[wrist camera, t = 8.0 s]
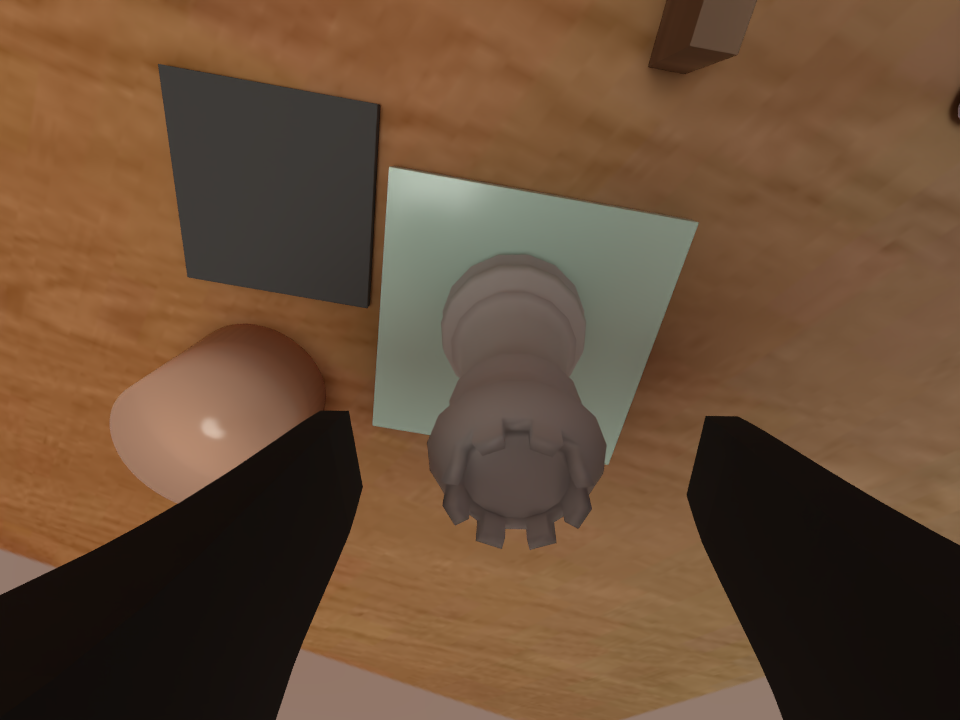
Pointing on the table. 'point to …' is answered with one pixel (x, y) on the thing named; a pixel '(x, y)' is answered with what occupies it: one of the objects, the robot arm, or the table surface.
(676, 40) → the cubby
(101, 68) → the table surface
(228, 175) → the dark gray tile
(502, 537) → the rook chess piece
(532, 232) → the coaster
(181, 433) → the peach short cylinder
